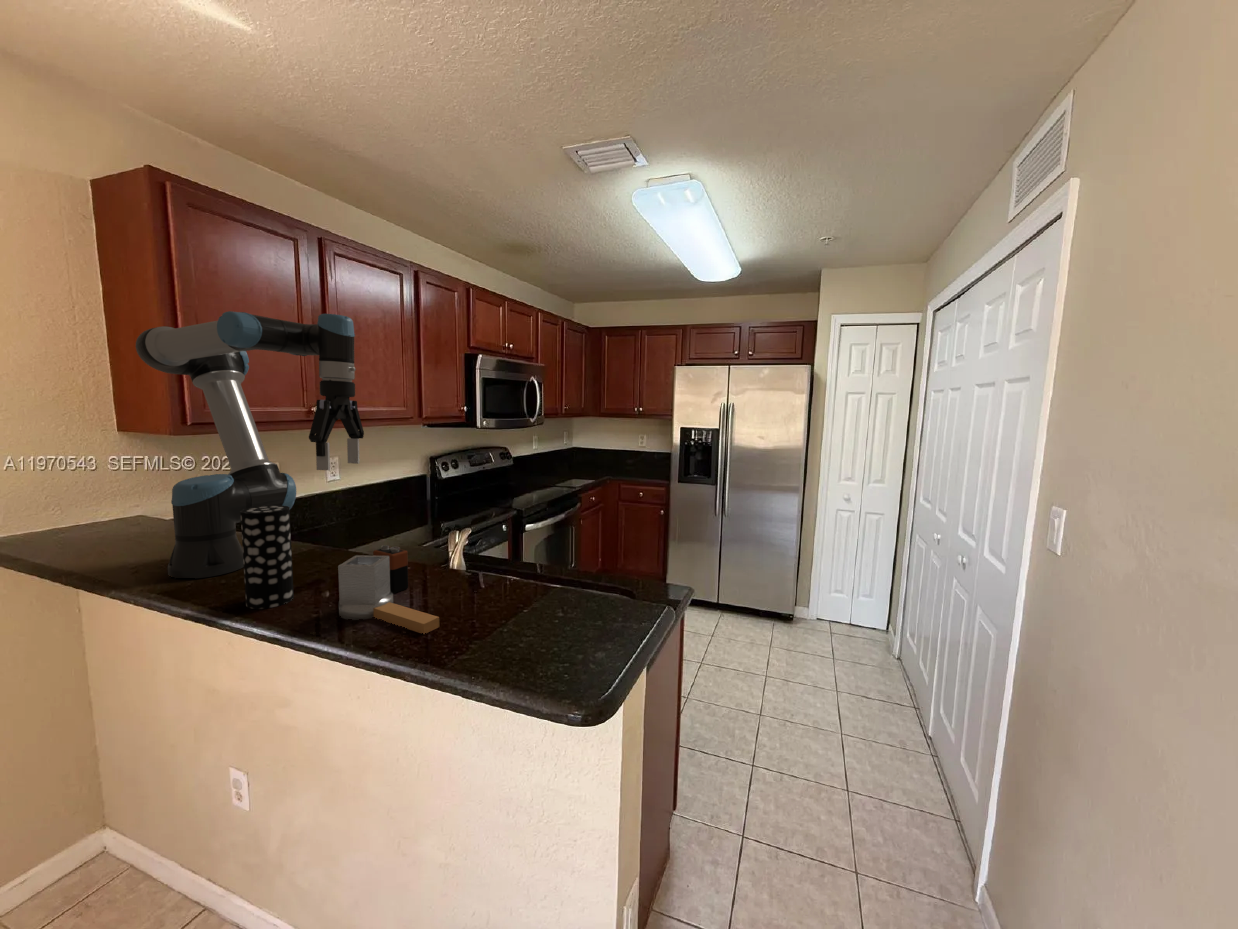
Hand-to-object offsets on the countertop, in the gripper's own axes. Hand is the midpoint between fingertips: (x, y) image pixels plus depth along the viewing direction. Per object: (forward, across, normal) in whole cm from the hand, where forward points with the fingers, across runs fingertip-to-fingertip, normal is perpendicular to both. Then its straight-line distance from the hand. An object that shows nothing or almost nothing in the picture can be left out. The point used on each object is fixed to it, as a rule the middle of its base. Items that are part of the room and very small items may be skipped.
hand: (339, 466), depth 122 cm
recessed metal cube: (+24, -24, -18) cm, 38 cm away
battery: (+26, -12, -18) cm, 34 cm away
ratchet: (+26, -27, -24) cm, 45 cm away
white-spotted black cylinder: (+27, -21, +4) cm, 34 cm away
